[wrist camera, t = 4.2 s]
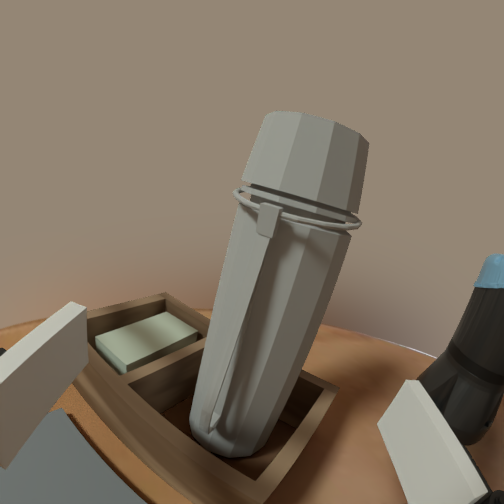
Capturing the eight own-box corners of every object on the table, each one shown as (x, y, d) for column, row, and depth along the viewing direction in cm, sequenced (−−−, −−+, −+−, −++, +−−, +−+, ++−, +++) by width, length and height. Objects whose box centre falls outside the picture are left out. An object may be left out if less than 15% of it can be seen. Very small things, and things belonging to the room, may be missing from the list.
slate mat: (63, 413, 17) (61, 407, 17) (160, 517, 12) (160, 514, 11) (-44, 447, 7) (-48, 442, 7) (35, 584, 1) (30, 583, 1)
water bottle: (212, 392, 27) (281, 134, 21) (280, 428, 24) (382, 159, 18) (153, 440, 19) (217, 90, 13) (235, 493, 16) (379, 114, 10)
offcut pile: (159, 348, 32) (164, 310, 30) (191, 370, 30) (198, 331, 28) (92, 379, 23) (89, 336, 22) (123, 410, 21) (122, 368, 19)
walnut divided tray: (160, 333, 34) (165, 292, 33) (315, 429, 24) (339, 387, 23) (61, 367, 22) (55, 318, 21) (238, 531, 12) (262, 504, 11)
